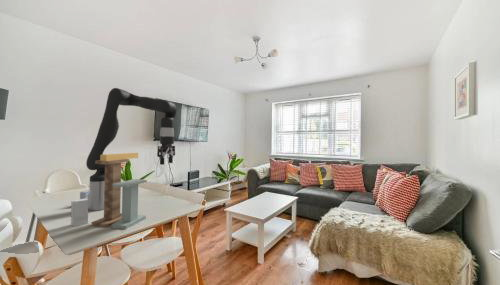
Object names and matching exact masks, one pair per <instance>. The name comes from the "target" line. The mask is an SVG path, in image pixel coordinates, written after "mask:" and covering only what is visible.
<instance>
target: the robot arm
mask: <svg viewBox="0 0 500 285" xmlns="http://www.w3.org/2000/svg"><path fill="white" fill-rule="evenodd" d="M119 106H124V107H126V106H130V107H133V106H134V107H139V108H142V109H145V110H149V111H155V112H156V111H157V112H160V113H163V114H164V117H162V118H161V119H160V131H159V144H160V145H158V146H157V153H156V155H157V157H158V158H159V165H162V166H163V165H165V157H166V155H168V164H173V161H174V160H173V158H174V157H175V156H176V145H174V143H175V130H174V129H175V128H174V126H175V119H176V115H177V106H176V104H175V103H174V102H171V101H168V100H165V99H158V98H154V97H148V96H139V95H135V94H133V93H131V92H129V91H127V90H124V89H121V88H118V87H114V88H111V90H110V91H109V92H108V95H107V100H106V104H105V109H104V112H103V116H102V120H101V122H100V125H99V128H98V131H97V135H96V137H95V139H94V143H93V146H92V147H91V150H90V152H89V154H88V156H87V158H86V164H85V165H86V167H87V169H88V170H91V171H95V173H93V174H92V175H90V176H89V193H88V211H93V212H94V211H101V210H104V187H105V164H95V161H98V160H100V155H104V154H105V153H104V152H105V150H106V148H107V147H108V146H109V145H110V144H111V143H112V142H113V141H114V140H115V139H116V136H117V135H118V132H119V128H120V124H119V118H118V110H119ZM103 153H104V154H103Z"/></svg>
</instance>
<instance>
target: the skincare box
mask: <svg viewBox="0 0 500 285" xmlns="http://www.w3.org/2000/svg"><path fill="white" fill-rule="evenodd" d="M70 203H71V205H70V207H71V208H70V209H71V212H70V215H71V216H70V217H71V219H70V221H71V222H70V223H71V226H72V227H76V226H82V225H85V224H88V223H89V209H88V200H87V199H80V198H79V199H75V200H74V199H72V200H71V201H70Z"/></svg>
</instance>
